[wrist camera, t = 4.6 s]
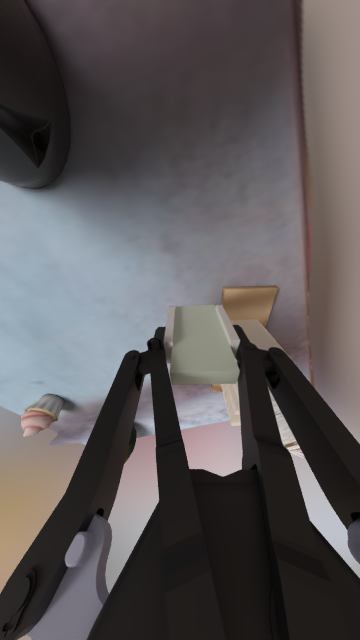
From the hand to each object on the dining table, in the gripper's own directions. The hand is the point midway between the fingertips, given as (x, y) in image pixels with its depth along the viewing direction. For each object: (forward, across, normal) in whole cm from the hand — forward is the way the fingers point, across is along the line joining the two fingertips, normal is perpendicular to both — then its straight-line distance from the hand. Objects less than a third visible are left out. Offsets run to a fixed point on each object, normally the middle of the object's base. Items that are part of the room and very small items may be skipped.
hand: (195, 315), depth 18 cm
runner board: (+9, +10, -15) cm, 20 cm away
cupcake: (+9, -45, -36) cm, 58 cm away
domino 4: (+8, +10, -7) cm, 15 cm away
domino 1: (+1, 0, 0) cm, 1 cm away
